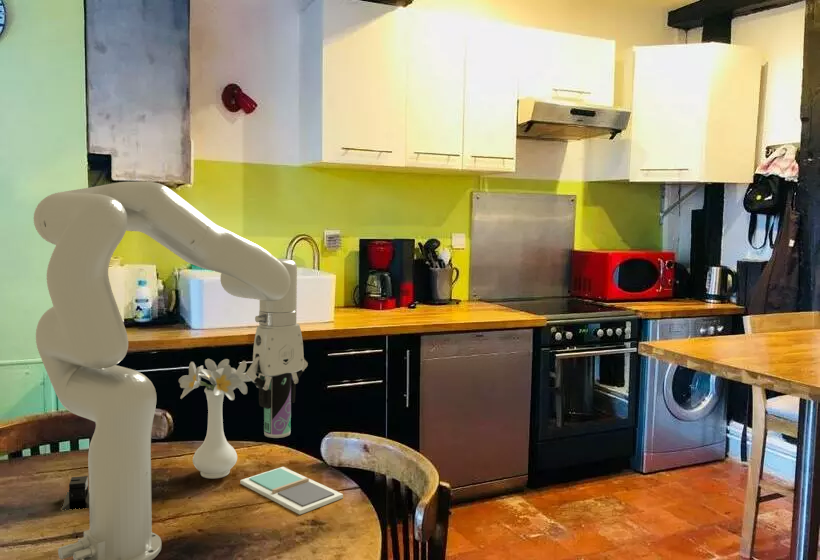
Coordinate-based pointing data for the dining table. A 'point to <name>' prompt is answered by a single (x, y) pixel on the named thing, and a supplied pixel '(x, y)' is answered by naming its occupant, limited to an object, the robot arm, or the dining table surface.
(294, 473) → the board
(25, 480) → the dining table surface
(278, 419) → the spray can
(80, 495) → the black angular piece
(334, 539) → the dining table surface
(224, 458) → the flower vase
